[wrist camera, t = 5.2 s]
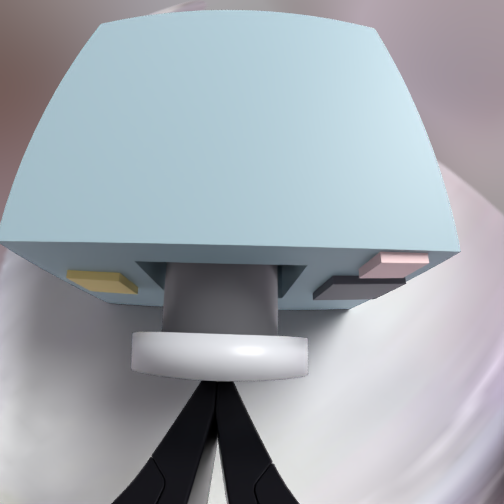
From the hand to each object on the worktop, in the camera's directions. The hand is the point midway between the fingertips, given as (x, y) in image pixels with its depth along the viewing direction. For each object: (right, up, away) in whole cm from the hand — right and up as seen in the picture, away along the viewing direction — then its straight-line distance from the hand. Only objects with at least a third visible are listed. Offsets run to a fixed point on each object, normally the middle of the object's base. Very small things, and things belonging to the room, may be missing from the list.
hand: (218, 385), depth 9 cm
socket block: (0, +7, +10) cm, 12 cm away
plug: (0, +6, +6) cm, 8 cm away
